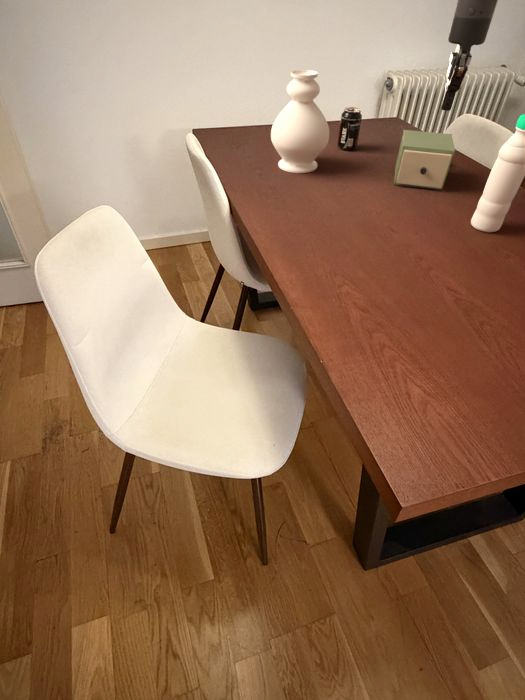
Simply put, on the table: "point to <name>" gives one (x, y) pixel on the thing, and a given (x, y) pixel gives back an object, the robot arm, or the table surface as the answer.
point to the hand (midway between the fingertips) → (445, 109)
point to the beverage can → (349, 128)
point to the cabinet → (424, 148)
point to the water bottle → (502, 182)
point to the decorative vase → (300, 125)
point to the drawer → (423, 168)
